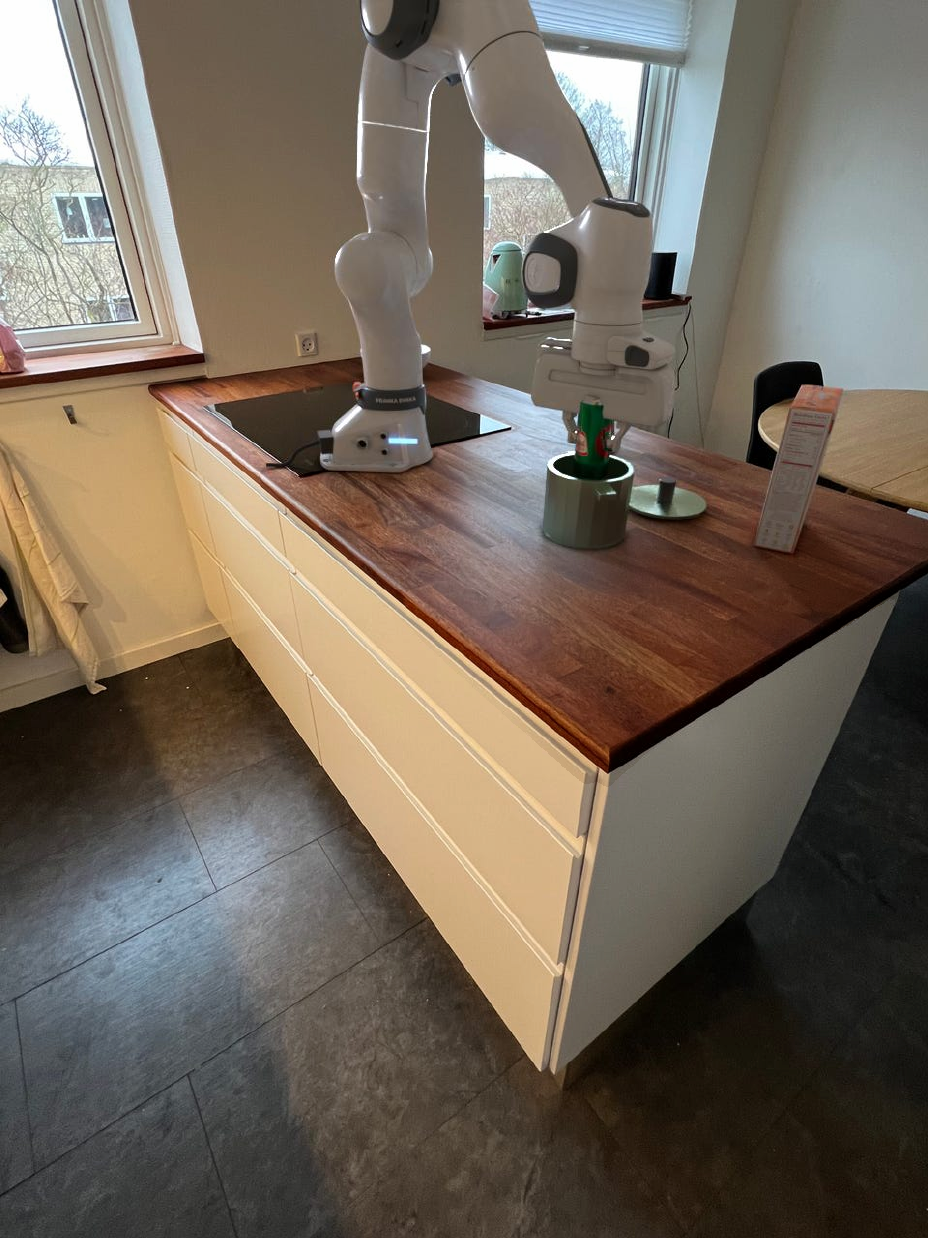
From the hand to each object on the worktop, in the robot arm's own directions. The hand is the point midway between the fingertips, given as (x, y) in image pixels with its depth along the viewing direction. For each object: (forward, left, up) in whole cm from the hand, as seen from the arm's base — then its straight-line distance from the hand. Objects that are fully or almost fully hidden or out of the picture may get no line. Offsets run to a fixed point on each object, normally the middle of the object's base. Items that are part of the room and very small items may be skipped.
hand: (593, 446), depth 92 cm
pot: (0, 0, -13) cm, 13 cm away
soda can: (0, 0, -5) cm, 5 cm away
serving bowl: (-26, +114, -14) cm, 118 cm away
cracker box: (+30, -4, -14) cm, 33 cm away
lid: (+16, +8, -13) cm, 22 cm away
